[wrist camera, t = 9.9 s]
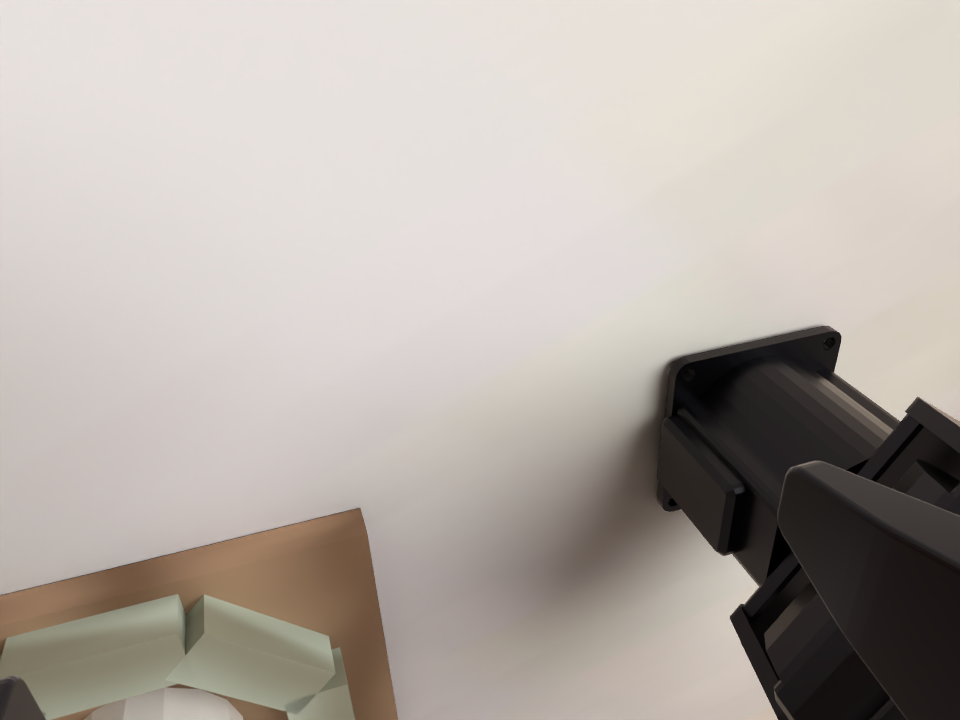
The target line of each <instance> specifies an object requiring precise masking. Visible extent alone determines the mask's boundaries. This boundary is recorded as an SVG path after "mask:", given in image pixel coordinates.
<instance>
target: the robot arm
mask: <svg viewBox="0 0 960 720" xmlns="http://www.w3.org/2000/svg"><path fill="white" fill-rule="evenodd" d="M825 340H826V341H825ZM824 341H825V342H824ZM840 344H841V335H840V333H839V332H837V331H836V330H834V329H833V328H831V327H830V326H821V327H817V328H812V329H808V330H803V331H799V332H794V333H789V334H785V335H780V336H776V337H771V338H767V339H762V340H758V341H753V342H748V343H744V344H739V345H735V346H730V347H726V348H721V349H716V350H712V351H707V352H703V353H698V354H694V355H689V356H684V357H682V358H679V359H678V360H677V361H675V362H674V363H673V365H672V366H671V368H670V372H669V380H668V390H667V400H666V411H665V419H664V421H663V423H662V427H661V438H660V448H659V458H658V469H657V479H658V480H659V481H658V491H657V501H658V502H659V504H660V505H661V506H662V508H663V509H664V510H665V511H668V512H671V511H676V510H680V509H682V510H683V511H684V513H685V514H686V515H687V516H688V518H689V519H690V520H691V521H692V522H693V524H694V525H695V526H696V527H697V529H698V530H699V531H700V532H701V534H702V535H703V536H704V537H705V539H706V540H707V541H708V542H709V544H710V545H711V546H712V547H713V549H714V550H715V551H716V552H718V553H719V554H721V555H722V556H726V555H729V554H733V556H734V557H735V558H736V559H737V561H738V562H739V563H740V564H741V565H742V567H743V568H744V569H745V570H746V571H747V573H748V574H749V575H750V576H751V577H752V579H753V580H754V581H755V582H756V583H757V585H758V586H759V588H758V589H757V590H756V591H755V593H754V594H753V595H752V596H751V597H750V598H749V600H748V601H747V602H746V603H745V604H740V605H739V606H738V608H737V609H736V610H735V611H734V612H733V614H732V615H731V616H730V620H731V622H732V624H733V626H734V628H735V630H736V632H737V634H738V636H739V638H740V641H741V644H742V646H743V648H744V650H745V652H746V654H747V656H748V658H749V660H750V662H751V664H752V666H753V668H754V670H755V672H756V674H757V677H758V679H759V681H760V683H761V685H762V687H763V689H764V691H765V693H766V695H767V697H768V699H769V701H770V703H771V705H772V708H773V710H774V712H775V714H776V716H777V718H778V720H960V422H959V421H958V420H956V419H954V418H952V417H951V416H949V415H947V414H946V413H944V412H942V411H941V410H939V409H937V408H936V407H934V406H932V405H931V404H929V403H927V402H926V401H924V400H922V399H921V398H919V397H917V398H916V399H915V400H914V402H913V403H912V404H911V405H910V406H909V407H908V409H907V410H906V411H905V412H906V413H907V415H906V416H905V417H904V418H903V420H902V421H901V422H900V421H899V420H897V419H896V418H895V417H893V416H892V415H891V414H889V413H888V412H887V411H885V410H884V409H882V408H881V407H880V406H878V405H877V404H876V403H874V402H873V401H872V400H870V399H869V398H867V397H866V396H865V395H863V394H862V393H861V392H859V391H858V390H857V389H855V388H854V387H852V386H851V385H850V384H848V383H847V382H846V381H844V380H843V379H842V378H840V377H839V376H837V375H836V374H835V373H834V370H835V365H836V361H837V357H838V352H839V348H840ZM688 369H689V370H688ZM686 370H688V372H687V373H686V374H685V375H683V373H684V372H685V371H686ZM682 375H683V376H682ZM0 720H46V719H45V717H44V715H43V713H42V711H41V710H40V708H39V706H38V704H37V702H36V701H35V699H34V697H33V695H32V693H31V692H30V690H29V688H28V686H27V685H26V683H25V682H24V680H23V679H22V678H21V677H19V676H16V675H13V676H12V675H10V676H7V677H3V678H0Z"/></svg>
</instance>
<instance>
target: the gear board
mask: <svg viewBox="0 0 960 720" xmlns="http://www.w3.org/2000/svg"><path fill="white" fill-rule="evenodd" d="M10 675H12V676H13V675H16V676H19V677H21V678H22V679H23V680H24V682H25V683H26V685H27V686H28V688H29V690H30V692H31V693H32V695H33V697H34V699H35V701H36V702H37V704H38V706H39V708H40V710H41V711H42V713H43V715H44V717H45V719H46V720H84V719H85V718H86V717H87V716H88V715H89V714H90V713H91V712H92V711H94V710H96V709H98V708H100V707H103V706H105V705H107V704H109V703H112V702H115V701H119V700H122V699H126V698H129V697H133V696H136V695H140V694H144V693H147V692H151V691H154V690H158V689H161V688H165V687H167V688H186V689H201V690H203V691H206V692H208V693H211V694H214V695H216V696H219V697H222V698H224V699H227V700H228V701H229V702H230V703H231V704H232V705H233V707H234V708H235V709H236V710H237V711H238V712H239V713H240V714H241V715H242V716H243V720H398V718H397V712H396V705H395V699H394V693H393V687H392V681H391V675H390V669H389V663H388V657H387V651H386V645H385V639H384V633H383V627H382V621H381V614H380V608H379V602H378V596H377V590H376V584H375V578H374V572H373V566H372V560H371V554H370V548H369V542H368V536H367V531H366V527H365V524H364V520H363V516H362V513H361V509H360V508H359V509H355V510H350V511H346V512H342V513H338V514H334V515H330V516H326V517H322V518H318V519H314V520H309V521H305V522H301V523H297V524H293V525H289V526H285V527H281V528H277V529H273V530H268V531H264V532H260V533H256V534H252V535H248V536H244V537H240V538H236V539H232V540H228V541H223V542H219V543H215V544H211V545H207V546H203V547H199V548H195V549H191V550H187V551H182V552H178V553H174V554H170V555H166V556H162V557H158V558H154V559H150V560H146V561H141V562H137V563H133V564H129V565H125V566H121V567H117V568H113V569H109V570H105V571H100V572H96V573H92V574H88V575H84V576H80V577H76V578H72V579H68V580H64V581H60V582H55V583H51V584H47V585H43V586H39V587H35V588H31V589H27V590H23V591H19V592H14V593H10V594H6V595H2V596H0V678H3V677H7V676H10Z"/></svg>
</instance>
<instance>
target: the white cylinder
mask: <svg viewBox="0 0 960 720" xmlns="http://www.w3.org/2000/svg"><path fill="white" fill-rule="evenodd" d="M84 720H243V716H242V715H241V714H240V713H239V712H238V711H237V710H236V709H235V708H234V707H233V705H232V704H231V703H230V702H229V701H228V700H227V699H224V698H222V697H219V696H216V695H214V694H211V693H208V692H206V691H203V690H201V689H186V688H167V687H165V688H161V689H158V690H154V691H151V692H147V693H144V694H140V695H136V696H133V697H129V698H126V699H122V700H119V701H115V702H112V703H109V704H107V705H105V706H103V707H100V708H98V709H96V710H94V711H92V712H91V713H90V714H89V715H88V716H87V717H86V718H85V719H84Z"/></svg>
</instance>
